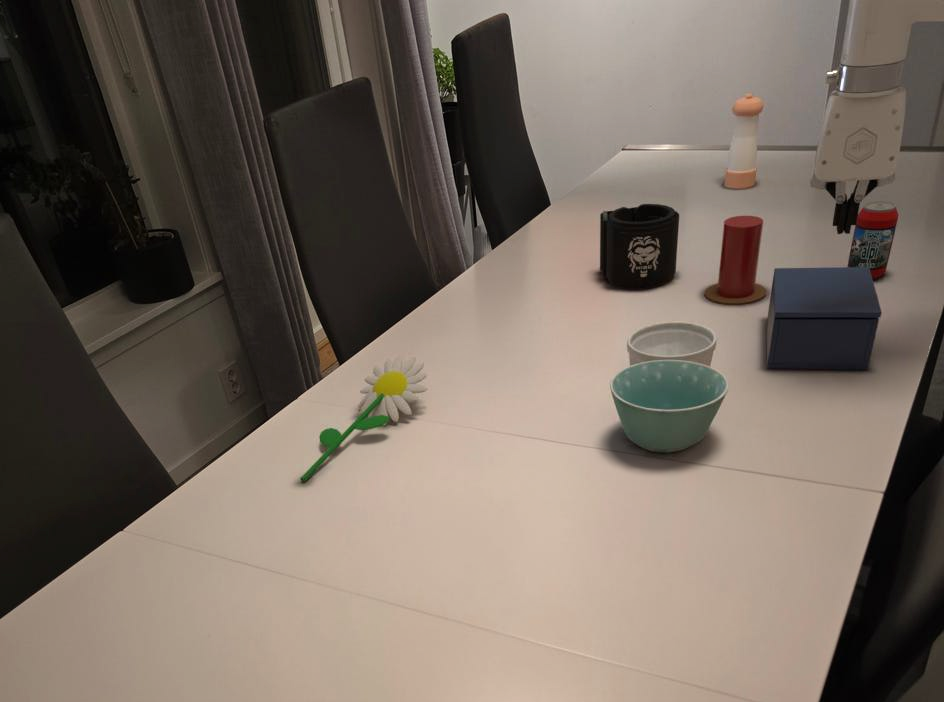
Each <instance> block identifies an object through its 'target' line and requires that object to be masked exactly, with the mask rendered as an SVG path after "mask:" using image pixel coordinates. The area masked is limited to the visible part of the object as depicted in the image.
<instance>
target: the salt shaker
mask: <svg viewBox="0 0 944 702" xmlns="http://www.w3.org/2000/svg"><path fill="white" fill-rule="evenodd" d="M764 107H765V106H764V102H763V100H762V99H761V98H759V97H757V96H753V93H746V95H745V97H741V98H739V99H737V100H736V101H735V102H734V103H733V104H732V108H731V111H732V114H733V115H734V122H733V123H734V124H733V132H732V138H731V141H730V147H729V151H728V156H727V168H726V169H725V171H724V173H725V174H724V183H723V186H724V188H728V189H733V190H734V189H748V188H751V187H753V186H755V184H756V178H757V167H756V164H757V158H758V128H759V118H760V114H761V113H762V112H763V109H764Z"/></svg>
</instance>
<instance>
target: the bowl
mask: <svg viewBox="0 0 944 702" xmlns="http://www.w3.org/2000/svg"><path fill="white" fill-rule="evenodd" d="M609 386H610V387H609V389H610V393H611V395H612V399H613V403H614V406H615V409H616V412H617V415H618V417H619V421H620V423H621V426H622V429H623V432H624V434H625V436H626V437H627V438H628V440H629V441H631V442H632V443H634V444H635V445H637V446H638V447H640V448H642V449H644V450H645V451H650V452H654V453H662V454H663V453H676V452H680V451H683V450H686V449H688V448H690V447H692V446H693V445H696V444H697V443H698V442H700V441H701V440H702V439H703V438H704V437H706V434H707V432H708V431H709V429H710V427H711V425H712V423H713V421H714V419H715V418H716V415H717V413H718V411H719V409H720V407H721V405H722V404H723V401H724V399H725V398H726V395H727V393H728V390H729V386H730V385H729V381H728V378H727V377H726V376H725V374H723V373H722V372H720V371H719V370H718V369H716V368H714V367H712V366H710V367H709V366H707V365H703V364H700V363H696V362H690V361H683V360H655V361H648V362H642V363H638V364H635V365H632V366H630V365H628V366H627V367H625V368H623V369H621V370H620V371H618V372H617V373H615V375H614V376H613V377H612V378H611V380H610V383H609Z"/></svg>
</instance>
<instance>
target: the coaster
mask: <svg viewBox="0 0 944 702" xmlns="http://www.w3.org/2000/svg"><path fill="white" fill-rule="evenodd" d="M717 288H718V283H715V284H712V285H709V286H708V287H707V288H705V290H704V293H703V294H704V295H703V296H704V298H705V299H707V301H710V302H712V303H715V304H720V305H726V306H742V305H749V304H754V303H757V302H759V301H761V300H763V299H764V298H765V297H766V295H767V290H766V288H765V287H764V286H763V285H761V284H758V283H756V282H755V289H754V293H753V294H752V295H750V296H748V297H744V298H726V297H722V296H720V295H719V294H718V293H717Z"/></svg>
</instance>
